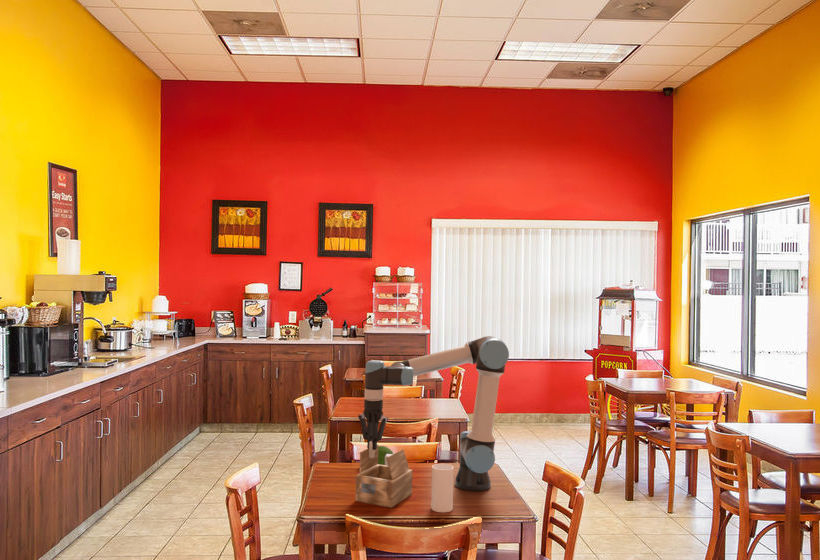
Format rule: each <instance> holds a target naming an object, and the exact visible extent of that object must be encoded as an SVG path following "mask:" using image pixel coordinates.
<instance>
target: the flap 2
mask: <svg viewBox="0 0 820 560" xmlns="http://www.w3.org/2000/svg"><path fill="white" fill-rule="evenodd" d="M386 459H387V463H388V466H389V470H390V473H391V477H392V478H395V477H396V476H398V475H400V474H401V473H403V472H405V471H406V470H408V469H410V467H409V464H408V459H407V457H406V453H405V450H404V449H401V450H398V451H397V452H395V453H393V455H391V456H389V457H387V458H386Z"/></svg>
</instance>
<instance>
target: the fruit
mask: <svg viewBox="0 0 820 560" xmlns="http://www.w3.org/2000/svg"><path fill="white" fill-rule="evenodd" d="M386 454H394V451H393V450H391V449H390V447H388V446H384V445H379V446H378V464H380V465H385V456H386Z"/></svg>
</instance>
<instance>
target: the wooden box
mask: <svg viewBox="0 0 820 560" xmlns="http://www.w3.org/2000/svg"><path fill="white" fill-rule="evenodd" d="M412 495H413V469H410V468H409V469H408V470H406V471H405V472H403V473H401V474H400V475H398V476H396V477H395V478H392V477H391V473H390V470H389V466H387V465H380V464H377V465H375V466H373V467H371V468H369V469H367V470H366V471H364V472H362V473H360V472H359V473H358V474H356V475H355V502H360V503H363V504H369V505H374V506H379V507H384V508H389V509H392V508H394V507H395V506H397V505H398V504H400V503H401V502H403V501H404V500H406V499H408V498H409V497H410V496H412Z"/></svg>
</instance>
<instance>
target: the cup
mask: <svg viewBox="0 0 820 560" xmlns="http://www.w3.org/2000/svg"><path fill="white" fill-rule="evenodd" d="M431 466H432V467H431V499H430V500H431V501H430V502H431V503H430V504H431V507H430V509H431V510H432V511H434V512H437V513H449V512H452V511H453V510H454V509H453V503H454V502H453V501H454V469H455V468H454V466H453V465H452V464H450V463H449V464H447V463H435V464H432V465H431Z"/></svg>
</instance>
